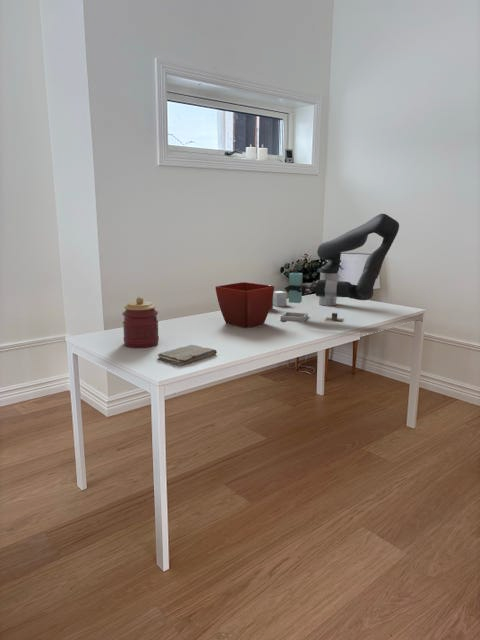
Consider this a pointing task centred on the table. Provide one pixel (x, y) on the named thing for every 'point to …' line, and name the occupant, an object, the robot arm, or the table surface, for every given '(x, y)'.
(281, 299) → the skincare box
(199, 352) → the washcloth
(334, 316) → the square wooden base
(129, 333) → the canister
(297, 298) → the teal square tube
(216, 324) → the table surface
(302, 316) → the tray
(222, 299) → the plant pot
